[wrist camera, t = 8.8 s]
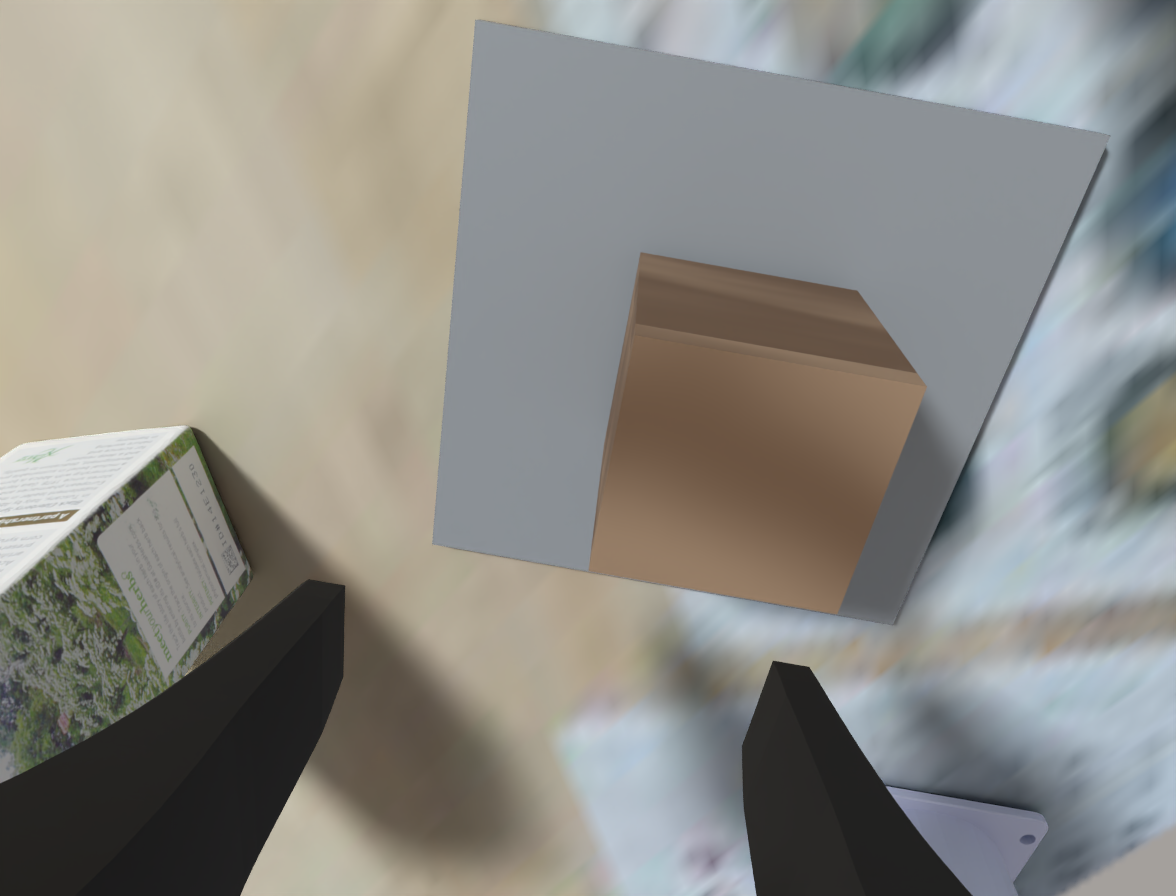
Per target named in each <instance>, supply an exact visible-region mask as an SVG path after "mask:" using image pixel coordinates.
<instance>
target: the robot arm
mask: <svg viewBox="0 0 1176 896" xmlns="http://www.w3.org/2000/svg"><path fill="white" fill-rule="evenodd" d="M344 609H345V586H344V585H338V584H332V583H327V582H321V581H315V580H307V581H305V582H304V583H302V584H301V585H300V586H299V587H297V588H296V589H295V590H294V591H293V592H291V593H290V594H289V595H288V596H287V597H286V598H284V599H283V600H282V601H281V602H280V603H278V604H277V605H276V606H275V607H274V608H272V609H271V610H270V611H269V612H268V613H266V614H265V615H264V616H263V617H262V618H260V619H259V620H258V621H257V622H255V623H254V624H253V625H252V626H251V627H249V628H248V629H247V630H246V631H244V632H243V633H242V634H241V635H239V636H238V637H237V638H235V639H234V640H233V641H232V642H230V643H229V644H228V645H226V646H225V647H224V648H223V649H221V650H220V651H219V652H217V653H216V654H215V655H214V656H212V657H211V658H210V659H208V660H207V661H206V662H204V663H203V664H202V665H200V666H199V667H197V668H196V669H194V670H193V671H192V672H190V673H189V674H187V675H186V676H185V677H183V678H182V679H180V680H179V681H177V682H176V683H175V684H173V685H172V686H170V687H169V688H168V689H166V690H165V691H163V692H162V693H160V694H159V695H157V696H156V697H154V698H153V699H151V700H150V701H148V702H147V703H145V704H144V705H142V706H141V707H139V708H138V709H136V710H134V711H133V712H131V713H130V714H128V715H126V716H125V717H123V718H121V719H120V720H118V721H116V722H115V723H113V724H111V725H110V726H108V727H107V728H105V729H103V730H102V731H100V732H98V733H96V734H95V735H93V736H91V737H89V738H88V739H86V740H84V741H82V742H80V743H78V744H77V745H75V746H73V747H71V748H69V749H67V750H65V751H63V752H61V753H60V754H58V755H56V756H54V757H52V758H50V759H48V760H46V761H44V762H42V763H40V764H38V765H36V766H35V767H33V768H31V769H29V770H27V771H25V772H23V773H21V774H19V775H17V776H15V777H13V778H11V779H8V780H6V781H4V782H2V783H0V896H240V895H241V893H242V890H243V888H244V885H245V883H246V881H247V879H248V877H249V875H250V873H251V870H252V868H253V866H254V864H255V862H256V860H257V858H258V856H259V854H260V852H261V850H262V848H263V846H264V844H265V842H266V840H267V838H268V837H269V835H270V833H271V831H272V829H273V827H274V825H275V823H276V821H277V819H278V817H279V815H280V814H281V812H282V810H283V808H284V806H285V804H286V802H287V800H288V798H289V796H290V794H291V792H292V791H293V789H294V787H295V785H296V783H297V781H298V779H299V777H300V775H301V773H302V771H303V769H304V767H305V765H306V763H307V762H308V760H309V758H310V756H311V754H312V752H313V750H314V748H315V746H316V744H317V742H318V740H319V738H320V736H321V734H322V732H323V729H324V727H325V724H326V721H327V719H328V716H329V714H330V711H331V709H332V706H333V703H334V700H335V698H336V695H337V692H338V689H339V687H340V684H341V681H342V679H343V662H344ZM742 768H743V801H744V812H745V820H746V827H747V834H748V841H749V848H750V855H751V861H752V868H753V875H754V881H755V888H756V895H757V896H1018V893H1017V891H1016V889H1015V886H1014V884H1013V882H1014V881H1015V879H1016V878H1017V876H1018V875H1019V873H1020V872H1021V870H1022V869H1023V867H1024V866H1025V864H1026V863H1027V861H1028V860H1029V858H1030V857H1031V855H1032V854H1033V852H1034V851H1035V849H1036V848H1037V846H1038V845H1039V843H1040V842H1041V840H1042V839H1043V837H1044V836H1045V834H1046V833H1047V831H1048V828H1049V827H1048V824H1047V822H1046V820H1045V818H1044V816H1043V815H1041V814H1040V813H1037V812H1032V811H1027V810H1021V809H1015V808H1009V807H1004V806H998V805H992V804H986V803H981V802H975V801H969V800H963V799H958V798H952V797H946V796H940V795H935V794H929V793H923V792H917V791H912V790H906V789H900V788H894V787H889V786H885V785H884V783H883V782H882V780H881V779H880V777H879V776H878V775H877V773H876V772H875V770H874V769H873V767H872V766H871V764H870V763H869V761H868V760H867V758H866V757H865V755H864V754H863V752H862V751H861V749H860V748H859V746H858V744H857V743H856V741H855V740H854V738H853V737H852V735H851V734H850V732H849V730H848V729H847V727H846V726H845V724H844V722H843V721H842V719H841V718H840V716H839V714H838V713H837V711H836V709H835V708H834V706H833V705H832V703H831V701H830V700H829V698H828V696H827V695H826V693H825V691H824V690H823V688H822V687H821V685H820V683H819V682H818V680H817V678H816V677H815V675H814V674H813V672H812V671H811V669H810V668H809V667H806V666H800V665H794V664H789V663H783V662H777V661H773V662H772V665H771V668H770V670H769V673H768V676H767V679H766V681H765V684H764V687H763V690H762V693H761V695H760V698H759V701H758V704H757V706H756V709H755V712H754V715H753V717H752V720H751V723H750V726H749V728H748V731H747V734H746V737H745V740H744V742H743V745H742Z"/></svg>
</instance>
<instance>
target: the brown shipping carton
mask: <svg viewBox="0 0 1176 896" xmlns="http://www.w3.org/2000/svg"><path fill="white" fill-rule="evenodd" d="M926 388H927V386H926V385H925V383H924V382H923V380H922V379H921V378H920V376H919V375H918V374H917V372H916V371H915V369H914V368H913V367H912V365H911V364H910V362H909V361H908V360H907V358H906V357H905V356H904V354H903V353H902V351H901V350H900V349H899V347H898V346H897V344H896V343H895V342H894V340H893V339H892V338H891V336H890V335H889V333H888V332H887V331H886V329H885V328H884V327H883V325H882V324H881V322H880V321H879V320H878V318H877V317H876V315H875V314H874V313H873V311H872V310H871V309H870V307H869V306H868V304H867V303H866V302H865V300H864V299H863V297H862V296H861V295H860V293H859V292H858V291H857V290H851V289H846V288H840V287H834V286H829V285H823V284H817V283H812V282H806V281H801V280H795V279H789V278H784V277H778V276H772V275H767V274H761V273H755V272H750V271H744V270H738V269H733V268H727V267H722V266H716V265H710V264H705V263H699V262H693V261H688V260H682V259H676V258H671V257H665V256H660V255H654V254H648V253H643V252H641V253H640V258H639V263H638V268H637V274H636V279H635V284H634V289H633V295H632V300H631V305H630V310H629V316H628V321H627V326H626V331H625V337H624V342H623V347H622V352H621V358H620V363H619V368H618V373H617V379H616V384H615V389H614V394H613V400H612V405H611V410H610V415H609V421H608V426H607V431H606V436H605V442H604V449H603V457H602V465H601V473H600V481H599V489H598V497H597V506H596V514H595V522H594V530H593V538H592V546H591V554H590V562H589V571H591V572H596V573H602V574H608V575H614V576H619V577H625V578H631V579H637V580H642V581H648V582H654V583H660V584H665V585H671V586H677V587H683V588H688V589H694V590H700V591H706V592H711V593H717V594H723V595H729V596H734V597H740V598H746V599H752V600H757V601H763V602H769V603H775V604H780V605H786V606H792V607H798V608H803V609H809V610H815V611H821V612H826V613H832V614H838V611H839V609H840V606H841V604H842V601H843V599H844V596H845V594H846V591H847V588H848V586H849V583H850V581H851V578H852V576H853V573H854V571H855V568H856V566H857V563H858V561H859V558H860V556H861V553H862V550H863V548H864V545H865V543H866V540H867V538H868V535H869V533H870V530H871V528H872V525H873V523H874V520H875V518H876V515H877V512H878V510H879V507H880V505H881V502H882V500H883V497H884V495H885V492H886V490H887V487H888V485H889V482H890V480H891V477H892V474H893V472H894V469H895V467H896V464H897V462H898V459H899V457H900V454H901V452H902V449H903V447H904V444H905V442H906V439H907V436H908V434H909V431H910V429H911V426H912V424H913V421H914V419H915V416H916V414H917V411H918V409H919V406H920V404H921V401H922V398H923V396H924V393H925V391H926Z"/></svg>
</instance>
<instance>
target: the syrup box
mask: <svg viewBox="0 0 1176 896" xmlns="http://www.w3.org/2000/svg"><path fill="white" fill-rule="evenodd" d="M252 578H253V573H252V571H251V568H250V566H249V563H248V561H247V558H246V556H245V553H244V551H243V549H242V547H241V545H240V543H239V540H238V538H237V535H236V533H235V531H234V528H233V526H232V524H231V521H230V519H229V516H228V514H227V512H226V509H225V507H224V505H223V502H222V500H221V497H220V495H219V493H218V491H217V488H216V486H215V484H214V481H213V479H212V476H211V474H210V471H209V469H208V466H207V464H206V462H205V459H204V457H203V455H202V452H201V449H200V446H199V445H198V443H197V440H196V438H195V436H194V434H193V432H192V429H191V428H190V427H189V426H187V425H185V426H173V427H161V428H151V429H140V430H130V431H122V432H113V433H105V434H97V435H88V436H79V437H71V438H63V439H52V440H45V441H38V442H28V443H25V444H21V445H19V446H17V447H16V448H14V449H13V450H11V451H10V452H8V453H7V454H5V455H4V456H2V457H1V458H0V783H2V782H4V781H6V780H8V779H11V778H13V777H15V776H17V775H19V774H21V773H23V772H25V771H27V770H29V769H31V768H33V767H35V766H36V765H38V764H40V763H42V762H44V761H46V760H48V759H50V758H52V757H54V756H56V755H58V754H60V753H61V752H63V751H65V750H67V749H69V748H71V747H73V746H75V745H77V744H78V743H80V742H82V741H84V740H86V739H88V738H89V737H91V736H93V735H95V734H96V733H98V732H100V731H102V730H103V729H105V728H107V727H108V726H110V725H111V724H113V723H115V722H116V721H118V720H120V719H121V718H123V717H125V716H126V715H128V714H130V713H131V712H133V711H134V710H136V709H138V708H139V707H141V706H142V705H144V704H145V703H147V702H148V701H150V700H151V699H153V698H154V697H156V696H157V695H159V694H160V693H162V692H163V691H165V690H166V689H168V688H169V687H170V686H172V685H173V684H175V683H176V682H177V681H179V680H180V679H182V678H183V677H184V676H185V674H186V673H187V672H188V670H189V669H190V667H191V666H192V665H193V663H194V662H195V660H196V659H197V657H198V656H199V654H200V653H201V652H202V650H203V649H204V648H205V646H206V645H207V643H208V642H209V640H210V639H211V637H212V636H213V634H214V633H215V632H216V630H217V629H218V627H219V626H220V624H221V623H222V621H223V620H224V618H225V617H226V615H227V614H228V613H229V611H230V610H231V609H232V607H233V606H234V605H235V603H236V602H237V600H238V599H239V598H240V596H241V595H242V593H243V592H244V590H245V588H246V587H247V586H248V584H249V583H250V581H251V580H252Z"/></svg>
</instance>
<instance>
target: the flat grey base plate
mask: <svg viewBox="0 0 1176 896" xmlns="http://www.w3.org/2000/svg"><path fill="white" fill-rule="evenodd" d="M1109 138H1110V136H1109V135H1106V134H1102V133H1098V132H1092V131H1087V130H1081V129H1076V128H1070V127H1065V126H1059V125H1054V124H1048V123H1043V122H1037V121H1032V120H1027V119H1021V118H1016V117H1010V116H1005V115H999V114H994V113H988V112H983V111H977V110H972V109H966V108H961V107H955V106H950V105H944V104H939V103H933V102H928V101H922V100H917V99H911V98H906V97H901V96H895V95H890V94H884V93H879V92H873V91H868V90H862V89H857V88H851V87H846V86H840V85H835V84H829V83H824V82H818V81H813V80H807V79H802V78H796V77H791V76H785V75H780V74H774V73H769V72H764V71H758V70H753V69H747V68H742V67H736V66H731V65H725V64H720V63H714V62H709V61H703V60H698V59H692V58H687V57H681V56H676V55H670V54H665V53H659V52H654V51H648V50H643V49H638V48H632V47H627V46H621V45H616V44H610V43H605V42H599V41H594V40H588V39H583V38H577V37H572V36H566V35H561V34H555V33H550V32H544V31H539V30H533V29H528V28H522V27H517V26H512V25H506V24H501V23H495V22H490V21H484V20H475V31H474V43H473V55H472V67H471V80H470V92H469V104H468V116H467V128H466V140H465V153H464V165H463V177H462V189H461V201H460V214H459V226H458V238H457V250H456V262H455V274H454V287H453V299H452V311H451V323H450V335H449V347H448V360H447V372H446V384H445V396H444V408H443V420H442V433H441V445H440V457H439V469H438V481H437V493H436V506H435V518H434V530H433V542H432V544H434V545H440V546H445V547H451V548H457V549H463V550H468V551H474V552H480V553H485V554H491V555H497V556H502V557H508V558H514V559H519V560H525V561H531V562H536V563H542V564H548V565H553V566H559V567H565V568H570V569H576V570H582V571H588V572H591V571H589V562H590V554H591V546H592V538H593V530H594V522H595V514H596V506H597V497H598V489H599V481H600V473H601V465H602V457H603V449H604V442H605V436H606V431H607V426H608V421H609V415H610V410H611V405H612V400H613V394H614V389H615V384H616V379H617V373H618V368H619V363H620V358H621V352H622V347H623V342H624V337H625V331H626V326H627V321H628V316H629V310H630V305H631V300H632V295H633V289H634V284H635V279H636V274H637V268H638V263H639V258H640V253H641V252H643V253H648V254H654V255H660V256H665V257H671V258H676V259H682V260H688V261H693V262H699V263H705V264H710V265H716V266H722V267H727V268H733V269H738V270H744V271H750V272H755V273H761V274H767V275H772V276H778V277H784V278H789V279H795V280H801V281H806V282H812V283H817V284H823V285H829V286H834V287H840V288H846V289H851V290H857V291H858V292H859V293H860V295H861V296H862V297H863V299H864V300H865V302H866V303H867V304H868V306H869V307H870V309H871V310H872V311H873V313H874V314H875V315H876V317H877V318H878V320H879V321H880V322H881V324H882V325H883V327H884V328H885V329H886V331H887V332H888V333H889V335H890V336H891V338H892V339H893V340H894V342H895V343H896V344H897V346H898V347H899V349H900V350H901V351H902V353H903V354H904V356H905V357H906V358H907V360H908V361H909V362H910V364H911V365H912V367H913V368H914V369H915V371H916V372H917V374H918V375H919V376H920V378H921V379H922V380H923V382H924V383H925V385H926V386H927V388H926V391H925V393H924V396H923V398H922V401H921V404H920V406H919V409H918V411H917V414H916V416H915V419H914V421H913V424H912V426H911V429H910V431H909V434H908V436H907V439H906V442H905V444H904V447H903V449H902V452H901V454H900V457H899V459H898V462H897V464H896V467H895V469H894V472H893V474H892V477H891V480H890V482H889V485H888V487H887V490H886V492H885V495H884V497H883V500H882V502H881V505H880V507H879V510H878V512H877V515H876V518H875V520H874V523H873V525H872V528H871V530H870V533H869V535H868V538H867V540H866V543H865V545H864V548H863V550H862V553H861V556H860V558H859V561H858V563H857V566H856V568H855V571H854V573H853V576H852V578H851V581H850V583H849V586H848V588H847V591H846V594H845V596H844V599H843V601H842V604H841V606H840V609H839V611H838V614H832V613H826V612H821V611H815V610H809V609H803V608H798V607H792V606H786V605H781V606H786V607H792V608H798V609H803V610H809V611H815V612H820V613H826V614H832V615H838V616H843V617H849V618H855V619H860V620H866V621H872V622H877V623H883V624H889V625H893V624H894V621H895V619H896V617H897V615H898V612H899V610H900V608H901V606H902V603H903V601H904V599H905V597H906V594H907V592H908V590H909V588H910V586H911V583H912V581H913V579H914V577H915V574H916V572H917V570H918V568H919V565H920V563H921V561H922V559H923V556H924V554H925V552H926V550H927V547H928V545H929V543H930V541H931V538H932V536H933V534H934V532H935V529H936V527H937V525H938V523H939V520H940V518H941V516H942V514H943V511H944V509H945V507H946V505H947V502H948V500H949V498H950V496H951V493H952V491H953V489H954V487H955V484H956V482H957V480H958V478H959V475H960V473H961V471H962V469H963V466H964V464H965V462H966V460H967V457H968V455H969V453H970V451H971V448H972V446H973V444H974V442H975V439H976V437H977V435H978V433H979V430H980V428H981V426H982V424H983V421H984V419H985V417H986V415H987V412H988V410H989V408H990V406H991V403H992V401H993V399H994V397H995V394H996V392H997V390H998V388H999V385H1000V383H1001V381H1002V379H1003V376H1004V374H1005V372H1006V370H1007V367H1008V365H1009V363H1010V361H1011V358H1012V356H1013V354H1014V352H1015V349H1016V347H1017V345H1018V343H1019V340H1020V338H1021V336H1022V334H1023V331H1024V329H1025V327H1026V325H1027V322H1028V320H1029V318H1030V316H1031V314H1032V311H1033V309H1034V307H1035V305H1036V302H1037V300H1038V298H1039V296H1040V293H1041V291H1042V289H1043V287H1044V284H1045V282H1046V280H1047V278H1048V275H1049V273H1050V271H1051V269H1052V266H1053V264H1054V262H1055V260H1056V257H1057V255H1058V253H1059V251H1060V248H1061V246H1062V244H1063V242H1064V239H1065V237H1066V235H1067V233H1068V230H1069V228H1070V226H1071V224H1072V221H1073V219H1074V217H1075V215H1076V212H1077V210H1078V208H1079V206H1080V203H1081V201H1082V199H1083V197H1084V194H1085V192H1086V190H1087V188H1088V185H1089V183H1090V181H1091V179H1092V176H1093V174H1094V172H1095V170H1096V167H1097V165H1098V163H1099V161H1100V158H1101V156H1102V154H1103V152H1104V149H1105V147H1106V145H1107V143H1108V140H1109ZM593 573H596V572H593ZM599 574H602V573H599ZM605 575H608V574H605ZM610 576H614V575H610ZM616 577H619V576H616ZM622 578H625V577H622ZM627 579H631V578H627ZM633 580H637V579H633ZM639 581H642V580H639ZM644 582H648V581H644ZM650 583H654V582H650ZM656 584H660V583H656ZM661 585H665V584H661ZM667 586H671V585H667ZM673 587H677V586H673ZM678 588H683V587H678ZM684 589H688V588H684ZM690 590H694V589H690ZM695 591H700V590H695ZM701 592H706V591H701ZM707 593H711V592H707ZM713 594H717V593H713ZM718 595H723V594H718ZM724 596H729V595H724ZM730 597H734V596H730ZM735 598H740V597H735ZM741 599H746V598H741ZM747 600H752V599H747ZM752 601H757V600H752ZM758 602H763V601H758ZM764 603H769V602H764ZM769 604H775V603H769ZM775 605H780V604H775Z"/></svg>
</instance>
